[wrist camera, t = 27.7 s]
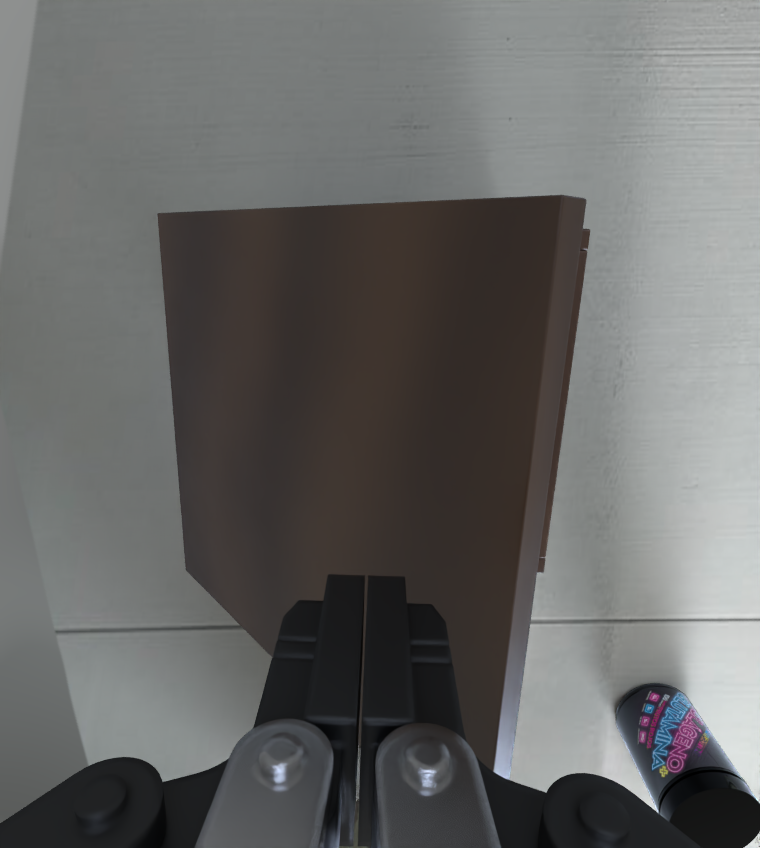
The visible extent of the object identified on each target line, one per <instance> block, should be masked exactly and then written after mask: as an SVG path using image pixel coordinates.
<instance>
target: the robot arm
mask: <svg viewBox="0 0 760 848" xmlns="http://www.w3.org/2000/svg"><path fill="white" fill-rule="evenodd" d="M364 592H365V575H338V574H328V576H327V582H326V588H325V594H324V600H323V601H317V600H298V601H297V603H296V604H295V605H294V606H293V607H292V608H291V609H290V610H289V611H288V612H287V613H286V614H285V615H284V617H283V620H282V624H281V627H280V631H279V635H278V641H277V642H276V646H275V650H274V653H273V658H272V661H271V664H270V668H269V672H268V676H267V679H266V683H265V687H264V691H263V694H262V698H261V702H260V705H259V709H258V713H257V717H256V720H255V724H254V727H253V729H252V730H251V731H249V732H248V733H247V734H245V735H244V736H243V737H242V738H241V739H240V740H239V742H238V743H237V744H236V746H235V747H234V749H233V751H232V753H231V755H230V758H229V759H227V760H226V761H224V762H222V763H221V764H219V765H217V766H215V767H213V768H211V769H209V770H206V771H203V772H200V773H196V774H193V775H189V776H185V777H181V778H177V779H174V780H170V781H166V782H162V779H161V777H160V774H159V773H158V771H157V770H156V769H155V768H154V767H153V766H152V765H151V764H149V763H148V762H145V761H143V760H141V759H137V758H130V757H120V758H112V759H107V760H103V761H100V762H97V763H95V764H92V765H90V766H88V767H86V768H84V769H83V770H81V771H79V772H77V773H76V774H74V775H73V776H71V777H70V778H68V779H67V780H65V781H64V782H62V783H61V784H59V785H58V786H56V787H55V788H53V789H51V790H50V791H49V792H47V793H45V794H44V795H42V796H41V797H40V798H38V799H37V800H35V801H33V802H32V803H30V804H29V805H28V806H26V807H24V808H23V809H21V810H20V811H18V812H17V813H15V814H14V815H13V816H11V817H9V818H8V819H6V820H5V821H3V822H2V823H0V848H339V846H353V841H354V821H355V801H356V781H357V761H358V740H359V720H360V700H361V680H362V657H363V626H364ZM358 846H368V847H371V848H702V847H700V846H699V845H698V844H697V843H695V842H694V841H693V840H692V839H690V838H689V837H688V836H687V835H685V834H684V833H683V832H681V831H680V830H679V829H678V828H676V827H675V826H674V825H673V824H671V823H670V822H669V821H667V820H666V819H665V818H664V817H662V816H661V815H660V814H659V813H657V812H656V811H655V810H654V809H652V808H651V807H650V806H648V805H647V804H646V803H645V802H643V801H642V800H641V799H640V798H638V797H637V796H636V795H635V794H633V793H632V792H630V791H629V790H628V789H626V788H625V787H623V786H622V785H620V784H618V783H616V782H614V781H612V780H610V779H607V778H605V777H601V776H598V775H594V774H587V773H576V774H570V775H566V776H564V777H561V778H560V779H558V780H557V781H555V782H554V783H553V784H552V785H551V786H550V787H549V789H548V791H547V793H545V792H542V791H539V790H536V789H533V788H530V787H527V786H524V785H521V784H518V783H515V782H513V781H510V780H508V779H505V778H503V777H502V776H500V775H498V774H496V773H495V772H493V771H492V770H490V769H489V768H488V767H487V766H485V765H484V764H483V763H482V762H481V761H480V760H479V759H478V758H477V756H476V755H475V754H474V752H473V750H472V748H471V747H470V746H469V744H468V742H467V740H466V737H465V733H464V728H463V722H462V716H461V710H460V704H459V698H458V692H457V686H456V680H455V674H454V668H453V664H452V656H451V650H450V646H449V638H448V632H447V626H446V621H445V620H444V619H443V618H442V616H441V615H440V614H439V612H438V611H437V610H436V609H435V607H434V606H433V605H432V604H414V603H407V598H406V583H405V577H404V576H373V575H368V590H367V612H366V634H365V657H364V679H363V701H362V724H361V757H360V790H359V823H358Z"/></svg>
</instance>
